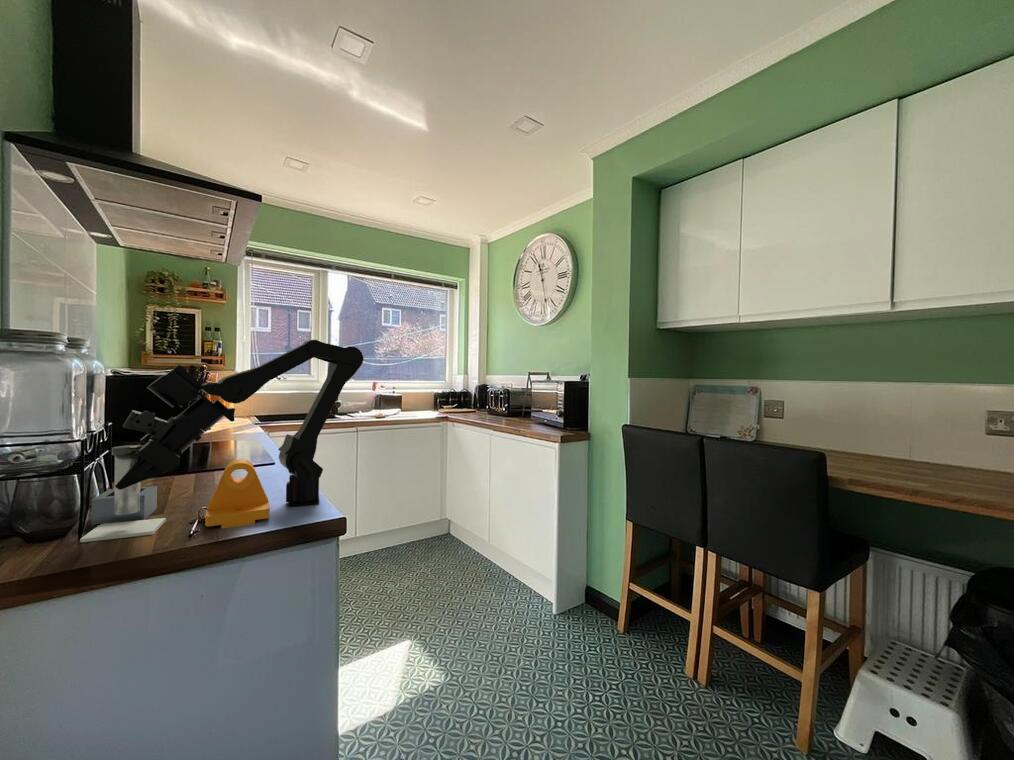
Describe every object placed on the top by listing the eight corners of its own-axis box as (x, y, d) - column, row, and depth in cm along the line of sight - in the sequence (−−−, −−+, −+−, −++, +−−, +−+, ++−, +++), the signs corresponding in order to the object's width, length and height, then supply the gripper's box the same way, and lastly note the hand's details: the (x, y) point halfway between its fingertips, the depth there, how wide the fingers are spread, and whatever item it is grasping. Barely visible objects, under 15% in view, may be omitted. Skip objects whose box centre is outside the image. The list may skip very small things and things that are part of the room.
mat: (165, 520, 85) (166, 517, 85) (153, 534, 77) (153, 531, 77) (100, 527, 80) (100, 524, 80) (80, 542, 73) (80, 539, 73)
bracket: (204, 531, 80) (205, 468, 80) (207, 519, 86) (208, 461, 86) (269, 521, 85) (270, 463, 85) (267, 511, 92) (268, 457, 92)
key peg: (141, 506, 82) (142, 444, 82) (143, 512, 79) (144, 447, 79) (110, 511, 79) (111, 446, 79) (111, 517, 76) (112, 449, 76)
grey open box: (156, 508, 92) (157, 485, 92) (144, 520, 85) (144, 495, 85) (108, 513, 88) (109, 489, 88) (91, 525, 81) (91, 499, 81)
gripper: (155, 393, 88) (80, 451, 81) (157, 397, 74) (66, 468, 67) (201, 428, 94) (134, 485, 86) (211, 438, 79) (132, 508, 72)
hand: (117, 486), depth 78 cm, fingers closed on key peg, 4 cm apart
